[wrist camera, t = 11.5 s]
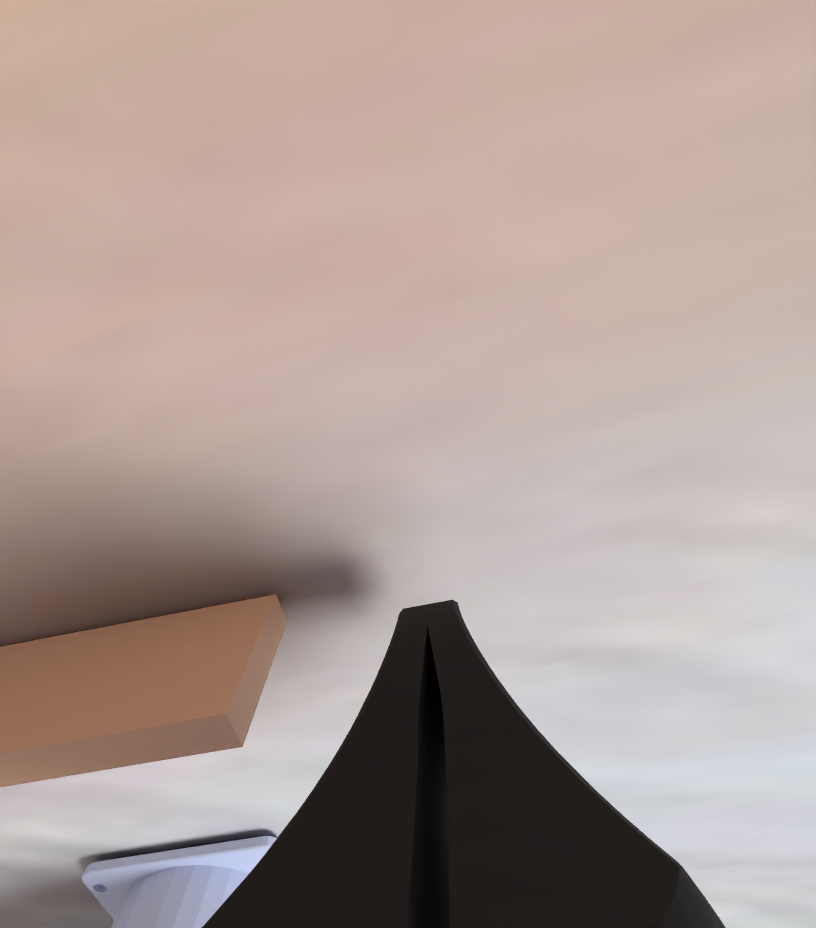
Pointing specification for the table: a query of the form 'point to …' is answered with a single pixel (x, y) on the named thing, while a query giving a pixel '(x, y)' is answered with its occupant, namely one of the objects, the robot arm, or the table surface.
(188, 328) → the table surface
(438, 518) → the table surface
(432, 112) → the table surface
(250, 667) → the orange-brown plank
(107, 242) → the table surface
